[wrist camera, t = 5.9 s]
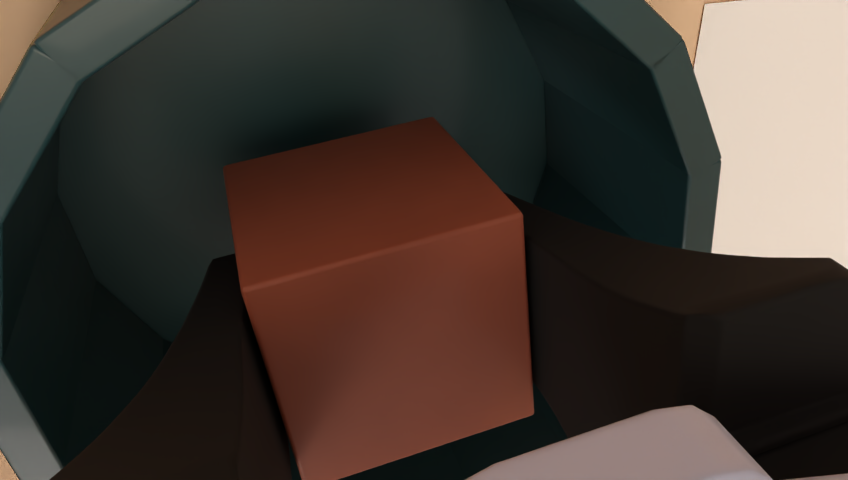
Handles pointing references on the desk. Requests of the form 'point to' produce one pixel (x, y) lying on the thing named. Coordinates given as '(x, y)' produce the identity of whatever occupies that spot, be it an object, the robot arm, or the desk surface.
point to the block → (382, 294)
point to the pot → (290, 129)
